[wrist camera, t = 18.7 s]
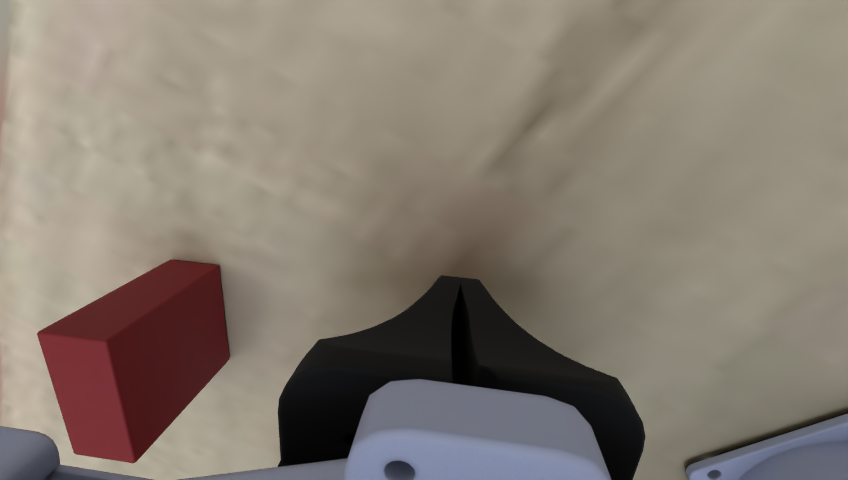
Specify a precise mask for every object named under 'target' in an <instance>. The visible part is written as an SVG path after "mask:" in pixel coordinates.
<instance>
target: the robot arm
mask: <svg viewBox="0 0 848 480" xmlns="http://www.w3.org/2000/svg"><path fill="white" fill-rule="evenodd" d="M451 375H452V377H453V384H452V383H451ZM278 421H279V437H280V453H281V461H280V463H279V465H278V467H274V468H266V469H258V470H251V471H243V472H235V473H227V474H219V475H211V476H203V477H195V478H187V479H179V480H632V479H633V477H634V474H635V471H636V468H637V466H638V463H639V460H640V457H641V455H642V452H643V447H644V441H645V432H644V427H643V422H642V420H641V418H640V417H639V415H638V413H637V411H636V409H635V407H634V405H633V403H632V401H631V399H630V398H629V396H628V394H627V393H626V391H625V389H624V388H623V386H622V385H621V383H620V382H619V380H618V379H617V378H615V377H612V376H610V375H607V374H605V373H602V372H599V371H597V370H594V369H592V368H589V367H586V366H584V365H582V364H580V363H578V362H576V361H573V360H571V359H569V358H567V357H565V356H563V355H562V354H560V353H558V352H556V351H554V350H553V349H551V348H549V347H548V346H546V345H545V344H543V343H541V342H540V341H538V340H537V339H535V338H534V337H533V336H531V335H530V334H529V333H527V332H526V331H525V330H524V329H522V328H521V327H520V326H519V325H518V324H516V323H515V322H514V321H513V320H512V319H511V318H510V317H509V316H508V315H507V314H506V313H505V312H504V311H503V310H502V309H501V308H500V306H499V305H498V304H497V303H496V302H495V301H494V299H493V298H492V297H491V295H490V294H489V293H488V291H487V290H486V289H485V287H484V286H483V284H482V283H481V282H480V280H477V279H468V278H460V277H451V276H440V277H439V278H438V279H437V280H436V282H435V283H434V284H433V286H432V287H431V288H430V289H429V290H428V291H427V292H426V293H425V294H424V295H423V296H422V297H421V298H420V299H419V300H418V301H417V302H415V303H414V304H413V305H412V306H410V307H409V308H408V309H407V310H405V311H404V312H402V313H401V314H399V315H398V316H396V317H394V318H392V319H390V320H388V321H386V322H383V323H381V324H379V325H377V326H375V327H372V328H369V329H366V330H363V331H360V332H356V333H353V334H349V335H344V336H338V337H333V338H327V339H320V340H318V341H317V342H316V344H315V345H314V346H313V347H312V349H311V350H310V351H309V352H308V353H307V354H306V356H305V357H304V358H303V359H302V361H301V362H300V364H299V365H298V367H297V368H296V370H295V371H294V373H293V375H292V376H291V378H290V379H289V381H288V382H287V384H286V386H285V388H284V390H283V392H282V394H281V396H280V398H279V407H278ZM686 475H687V477H688V479H689V480H848V414H844V415H841V416H838V417H835V418H832V419H829V420H826V421H823V422H820V423H817V424H813V425H810V426H807V427H804V428H801V429H798V430H795V431H792V432H789V433H786V434H782V435H779V436H776V437H773V438H770V439H767V440H764V441H761V442H758V443H755V444H751V445H748V446H745V447H742V448H739V449H736V450H733V451H730V452H727V453H724V454H720V455H717V456H714V457H711V458H708V459H705V460H702V461H699V462H696V463H693V464H691V465H689V466H688V467H687V469H686ZM0 480H152V479H146V478H140V477H134V476H128V475H121V474H115V473H109V472H103V471H96V470H90V469H84V468H78V467H72V466H65V465H60V458H59V452H58V449H57V446H56V444H55V443H54V441H53V440H52V439H51V438H50V437H48V436H47V435H45V434H43V433H40V432H35V431H29V430H23V429H16V428H10V427H3V426H0Z"/></svg>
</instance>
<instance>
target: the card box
mask: <svg viewBox="0 0 848 480" xmlns="http://www.w3.org/2000/svg"><path fill="white" fill-rule="evenodd" d="M37 335H38V338H39V342H40V345H41V348H42V351H43V355H44V358H45V361H46V364H47V367H48V371H49V374H50V377H51V380H52V384H53V387H54V390H55V393H56V397H57V400H58V403H59V406H60V410H61V413H62V416H63V419H64V422H65V426H66V429H67V432H68V435H69V439H70V442H71V445H72V448H73V452H74V453H75V454H78V455H84V456H91V457H97V458H103V459H110V460H116V461H123V462H129V463H135V462H136V461H137V460H138V459H139V458H140V457H141V456H142V455H143V454H144V453H145V452H146V450H147V449H148V448H149V447H150V446H151V445H152V444H153V443H154V442H155V441H156V439H157V438H158V437H159V436H160V435H161V434H162V433H163V432H164V431H165V430H166V428H167V427H168V426H169V425H170V424H171V423H172V422H173V421H174V420H175V419H176V417H177V416H178V415H179V414H180V413H181V412H182V411H183V410H184V409H185V408H186V406H187V405H188V404H189V403H190V402H191V401H192V400H193V399H194V398H195V397H196V395H197V394H198V393H199V392H200V391H201V390H202V389H203V388H204V387H205V386H206V384H207V383H208V382H209V381H210V380H211V379H212V378H213V377H214V376H215V375H216V373H217V372H218V371H219V370H220V369H221V368H222V367H223V366H224V365H225V364H226V362H227V361H228V360H229V350H228V341H227V332H226V324H225V315H224V306H223V297H222V289H221V280H220V271H219V266H218V265H212V264H203V263H195V262H186V261H178V260H169V261H167V262H165V263H163V264H162V265H160V266H158V267H156V268H154V269H152V270H151V271H149V272H147V273H145V274H143V275H141V276H140V277H138V278H136V279H134V280H132V281H130V282H129V283H127V284H125V285H123V286H121V287H119V288H118V289H116V290H114V291H112V292H110V293H108V294H107V295H105V296H103V297H101V298H99V299H97V300H96V301H94V302H92V303H90V304H88V305H86V306H85V307H83V308H81V309H79V310H77V311H75V312H74V313H72V314H70V315H68V316H66V317H64V318H63V319H61V320H59V321H57V322H55V323H53V324H52V325H50V326H48V327H46V328H44V329H42V330H41V331H39V332H38V333H37Z"/></svg>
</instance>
